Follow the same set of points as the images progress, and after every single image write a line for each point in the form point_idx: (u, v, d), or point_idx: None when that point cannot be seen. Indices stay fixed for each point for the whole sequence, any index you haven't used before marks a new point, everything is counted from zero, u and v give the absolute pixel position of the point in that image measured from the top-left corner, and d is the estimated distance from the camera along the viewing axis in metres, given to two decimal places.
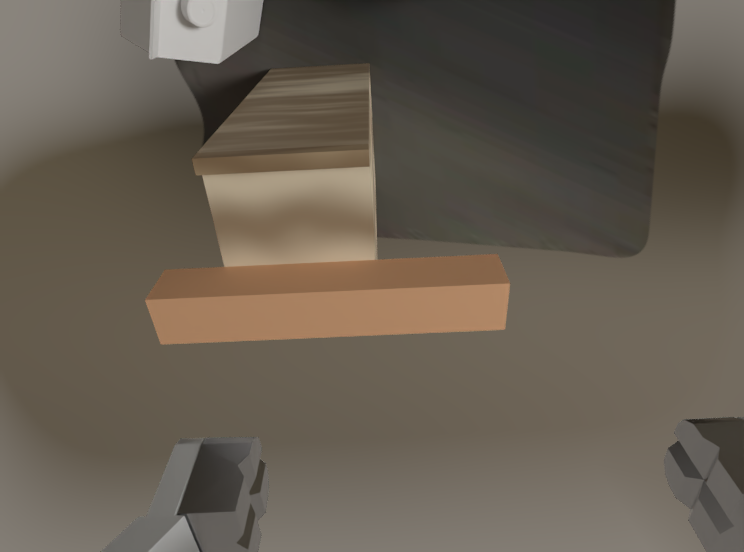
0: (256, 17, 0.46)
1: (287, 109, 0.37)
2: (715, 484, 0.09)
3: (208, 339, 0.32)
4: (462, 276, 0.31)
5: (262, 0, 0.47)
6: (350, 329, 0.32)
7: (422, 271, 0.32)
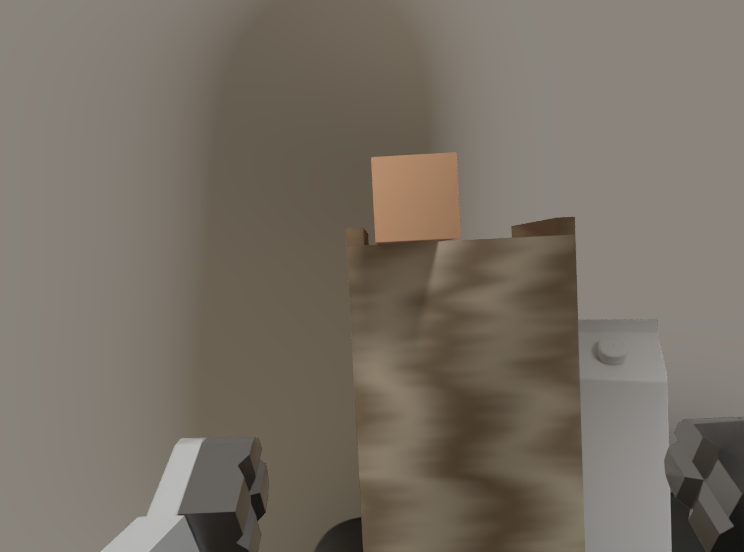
0: (598, 532, 0.40)
1: None
2: (716, 484, 0.09)
3: None
4: None
5: None
6: None
7: None
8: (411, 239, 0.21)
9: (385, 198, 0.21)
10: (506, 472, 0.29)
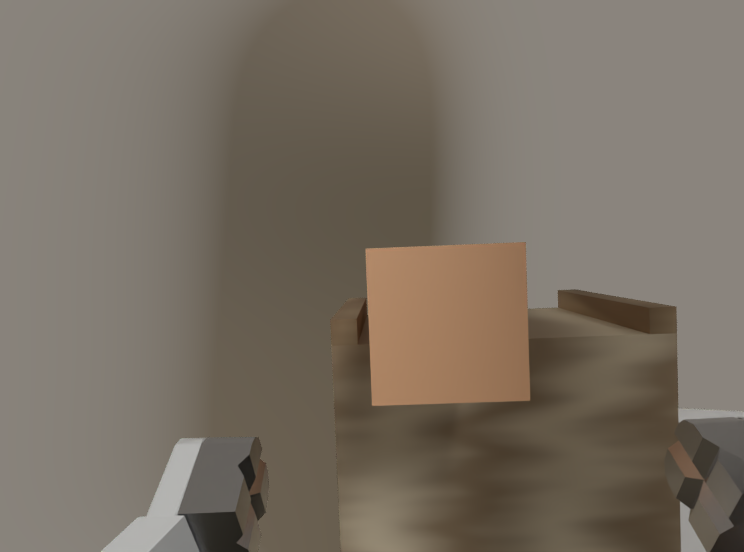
0: None
1: None
2: (715, 484, 0.09)
3: None
4: None
5: None
6: None
7: None
8: (438, 402, 0.11)
9: (391, 325, 0.11)
10: None
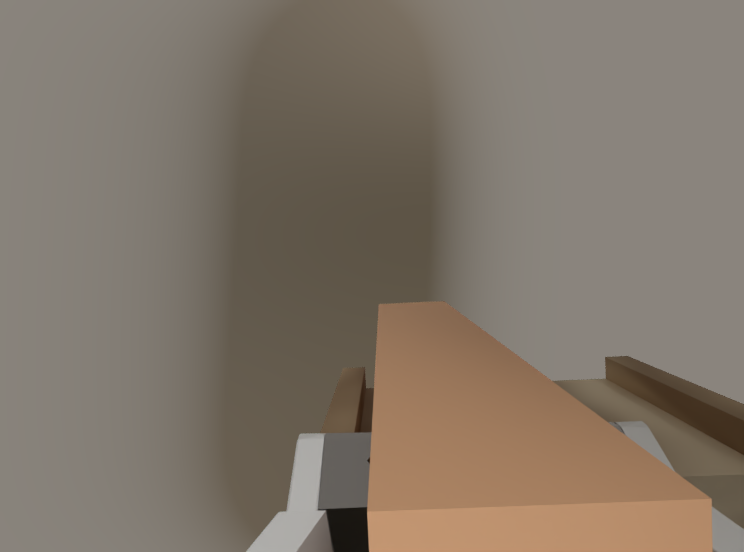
0: None
1: None
2: None
3: (383, 310, 0.24)
4: None
5: None
6: (394, 343, 0.15)
7: None
8: None
9: None
10: None
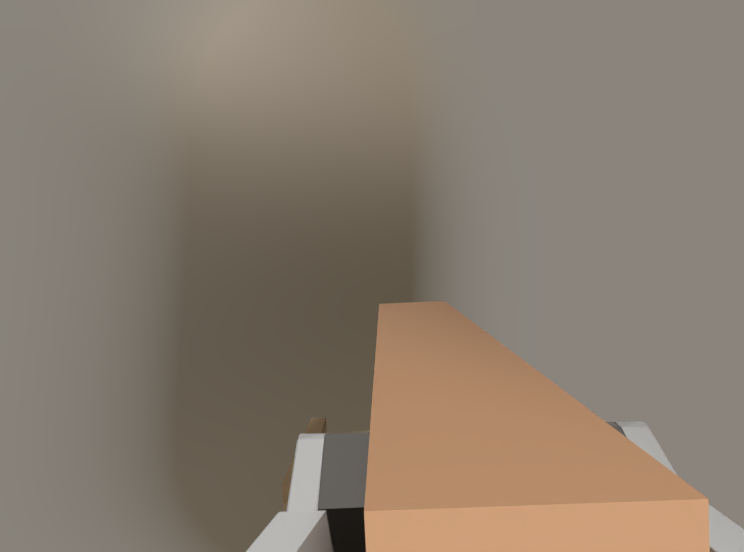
0: None
1: None
2: None
3: (383, 310, 0.24)
4: None
5: None
6: (394, 343, 0.15)
7: None
8: None
9: None
10: None
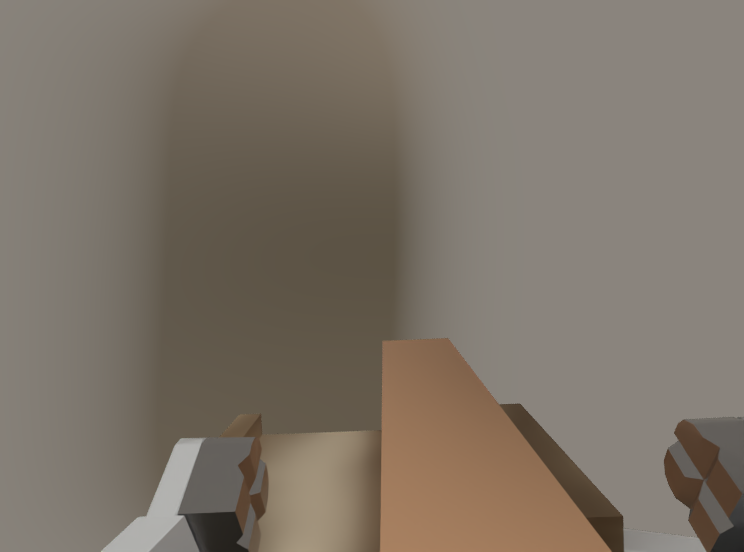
0: None
1: None
2: (715, 484, 0.09)
3: (387, 352, 0.24)
4: None
5: None
6: (400, 411, 0.15)
7: None
8: None
9: None
10: None
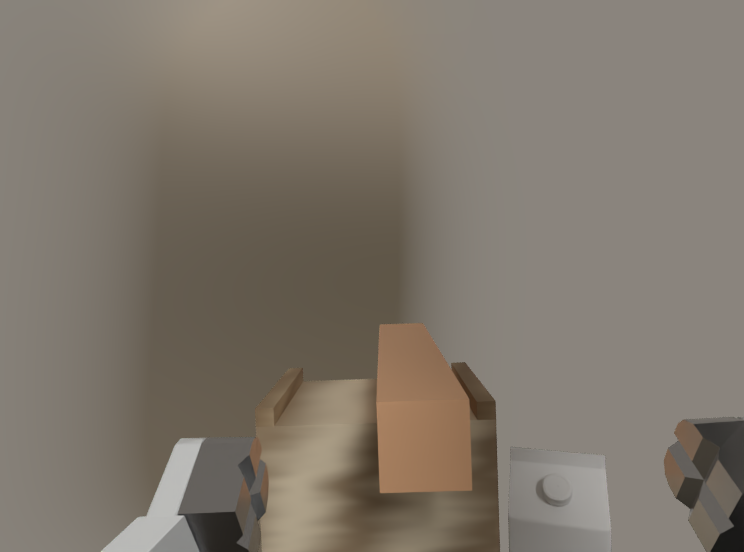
0: None
1: None
2: (715, 484, 0.09)
3: (382, 330, 0.38)
4: None
5: None
6: (387, 352, 0.29)
7: None
8: (418, 491, 0.19)
9: (391, 446, 0.19)
10: None
